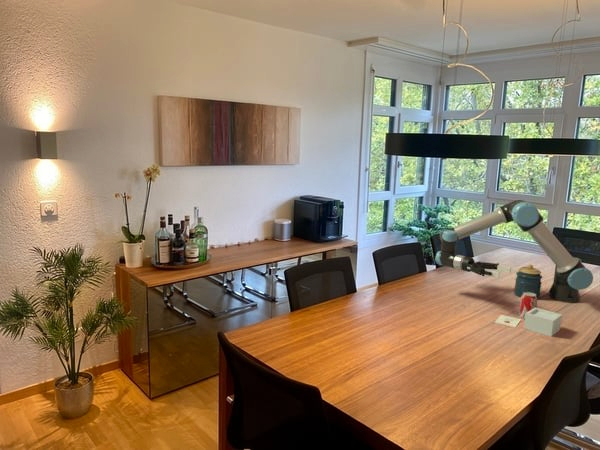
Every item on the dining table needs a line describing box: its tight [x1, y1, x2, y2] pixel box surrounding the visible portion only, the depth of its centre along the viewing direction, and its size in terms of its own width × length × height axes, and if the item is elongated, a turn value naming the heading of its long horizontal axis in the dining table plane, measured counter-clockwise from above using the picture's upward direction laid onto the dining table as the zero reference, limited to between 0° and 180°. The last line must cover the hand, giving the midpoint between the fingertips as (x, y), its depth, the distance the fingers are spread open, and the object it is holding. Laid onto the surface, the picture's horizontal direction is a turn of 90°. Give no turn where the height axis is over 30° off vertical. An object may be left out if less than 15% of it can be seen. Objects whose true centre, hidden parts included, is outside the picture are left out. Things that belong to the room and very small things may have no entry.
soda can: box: [518, 292, 538, 320], centre depth 220 cm, size 7×7×12 cm
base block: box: [523, 306, 563, 337], centre depth 207 cm, size 12×12×7 cm
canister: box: [513, 264, 543, 300], centre depth 253 cm, size 13×13×18 cm
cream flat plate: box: [494, 314, 522, 328], centre depth 216 cm, size 12×9×1 cm
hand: (504, 272), depth 227 cm, fingers open, 13 cm apart
